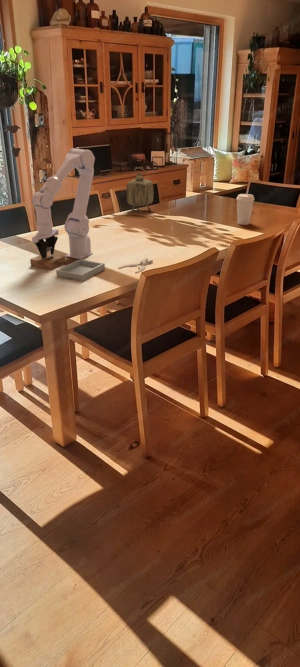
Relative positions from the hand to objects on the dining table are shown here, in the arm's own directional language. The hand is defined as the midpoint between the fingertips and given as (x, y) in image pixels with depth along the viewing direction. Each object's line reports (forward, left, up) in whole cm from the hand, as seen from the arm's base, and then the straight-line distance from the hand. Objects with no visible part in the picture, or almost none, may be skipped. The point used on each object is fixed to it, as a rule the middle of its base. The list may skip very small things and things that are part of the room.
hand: (47, 255), depth 206 cm
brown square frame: (0, 0, -4) cm, 4 cm away
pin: (0, 0, -4) cm, 4 cm away
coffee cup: (-107, +49, -4) cm, 118 cm away
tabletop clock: (-107, -16, -4) cm, 108 cm away
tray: (+2, +18, -4) cm, 19 cm away
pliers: (-16, +34, -4) cm, 38 cm away
